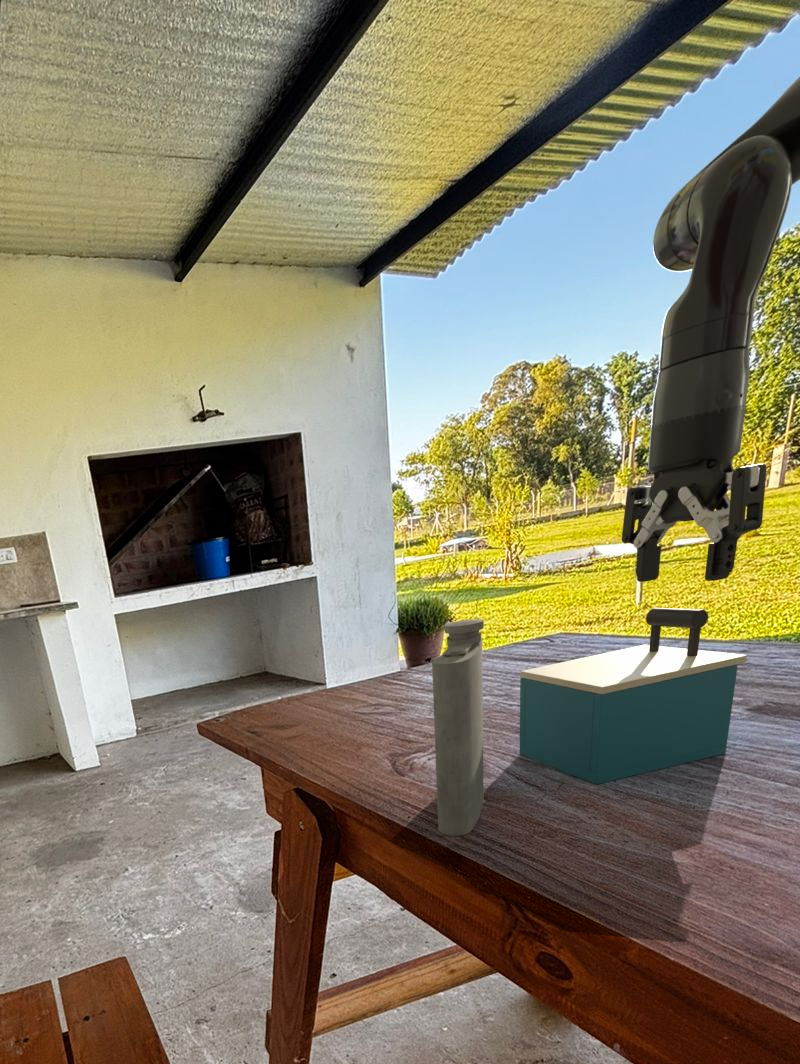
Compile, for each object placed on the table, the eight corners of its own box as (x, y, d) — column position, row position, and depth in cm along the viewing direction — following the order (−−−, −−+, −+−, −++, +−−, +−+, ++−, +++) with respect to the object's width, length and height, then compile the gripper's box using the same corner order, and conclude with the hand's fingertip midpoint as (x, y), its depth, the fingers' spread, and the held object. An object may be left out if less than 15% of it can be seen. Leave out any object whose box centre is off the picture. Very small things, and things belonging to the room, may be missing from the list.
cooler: (630, 728, 81) (636, 652, 77) (725, 753, 68) (738, 664, 65) (519, 754, 79) (520, 677, 76) (596, 784, 67) (601, 695, 63)
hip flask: (452, 778, 75) (448, 612, 68) (489, 778, 73) (488, 607, 66) (436, 835, 63) (428, 637, 55) (480, 837, 61) (477, 632, 54)
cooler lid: (644, 650, 77) (647, 603, 75) (746, 662, 65) (754, 606, 63) (520, 677, 76) (520, 629, 74) (601, 694, 63) (605, 638, 61)
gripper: (805, 386, 56) (776, 573, 61) (668, 425, 69) (655, 575, 75) (732, 398, 55) (710, 586, 61) (608, 435, 68) (599, 586, 74)
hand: (679, 580), depth 68 cm, fingers open, 8 cm apart
